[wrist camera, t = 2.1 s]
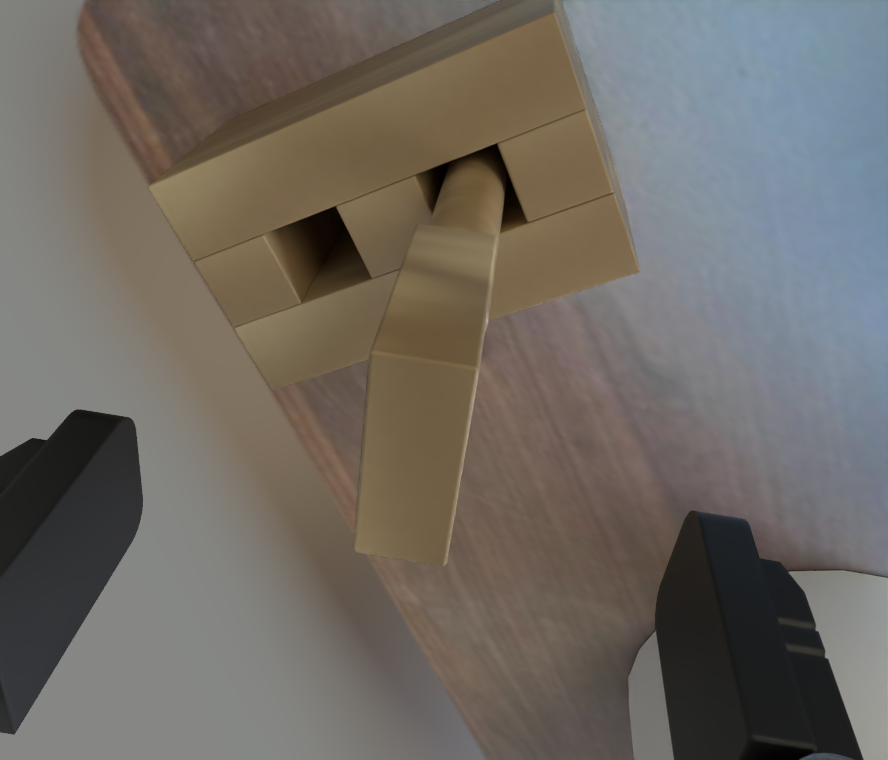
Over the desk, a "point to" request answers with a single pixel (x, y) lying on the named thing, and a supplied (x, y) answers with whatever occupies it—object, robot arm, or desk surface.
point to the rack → (399, 186)
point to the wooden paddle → (429, 369)
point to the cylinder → (847, 648)
